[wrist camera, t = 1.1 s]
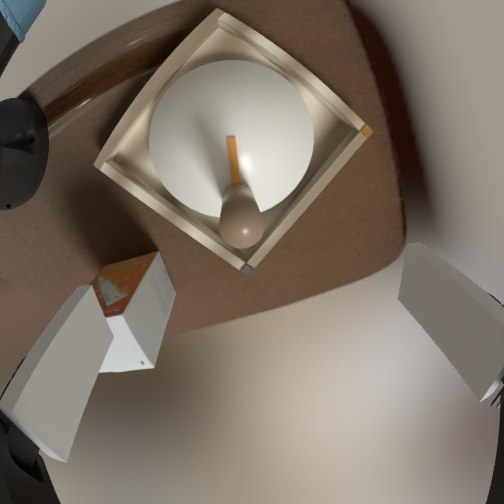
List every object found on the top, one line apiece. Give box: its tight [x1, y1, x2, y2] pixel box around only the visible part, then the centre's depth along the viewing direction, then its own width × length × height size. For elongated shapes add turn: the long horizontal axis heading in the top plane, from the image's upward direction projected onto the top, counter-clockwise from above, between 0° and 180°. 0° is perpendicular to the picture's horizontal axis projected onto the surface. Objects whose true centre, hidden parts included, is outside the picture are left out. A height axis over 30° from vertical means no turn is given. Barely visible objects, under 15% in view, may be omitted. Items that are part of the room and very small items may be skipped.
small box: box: [90, 251, 176, 372], centre depth 26 cm, size 8×6×13 cm
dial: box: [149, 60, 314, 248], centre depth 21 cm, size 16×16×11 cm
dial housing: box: [94, 8, 373, 276], centre depth 25 cm, size 20×20×4 cm
